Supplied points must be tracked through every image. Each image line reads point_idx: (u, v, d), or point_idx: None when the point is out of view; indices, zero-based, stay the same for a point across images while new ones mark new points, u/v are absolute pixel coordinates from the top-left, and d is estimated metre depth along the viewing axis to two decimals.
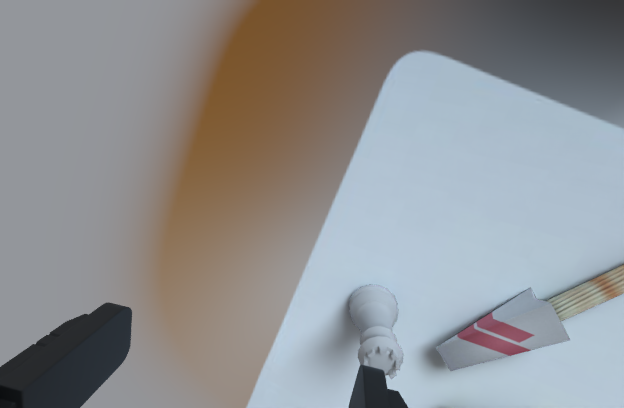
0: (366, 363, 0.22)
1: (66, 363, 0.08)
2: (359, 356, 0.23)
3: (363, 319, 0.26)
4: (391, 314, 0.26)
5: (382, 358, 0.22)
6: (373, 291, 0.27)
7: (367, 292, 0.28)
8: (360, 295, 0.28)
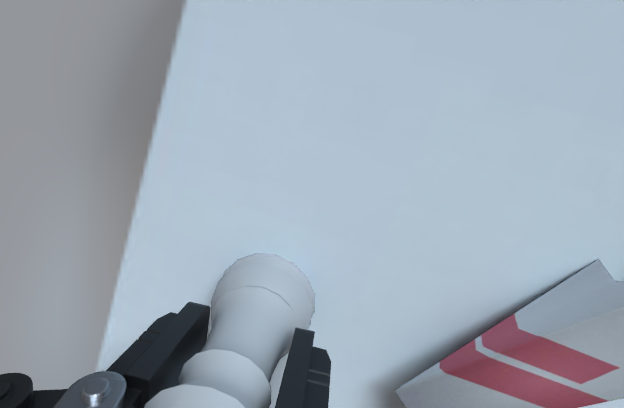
0: None
1: (172, 356, 0.09)
2: None
3: (212, 328, 0.11)
4: (285, 316, 0.12)
5: None
6: (254, 266, 0.13)
7: (242, 268, 0.13)
8: (227, 275, 0.13)
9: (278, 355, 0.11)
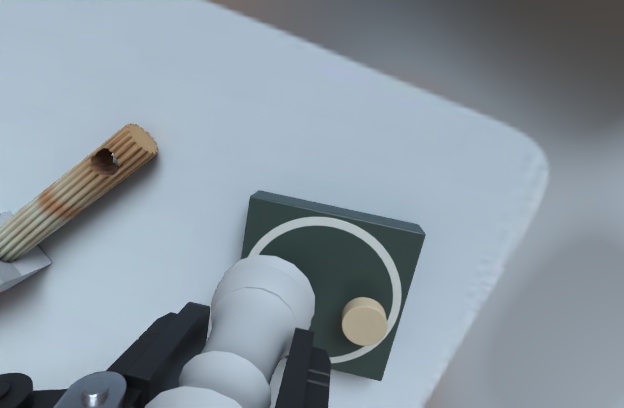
0: None
1: (172, 356, 0.09)
2: None
3: (212, 329, 0.11)
4: (285, 317, 0.12)
5: None
6: (254, 267, 0.13)
7: (242, 270, 0.13)
8: (228, 276, 0.13)
9: (278, 357, 0.11)
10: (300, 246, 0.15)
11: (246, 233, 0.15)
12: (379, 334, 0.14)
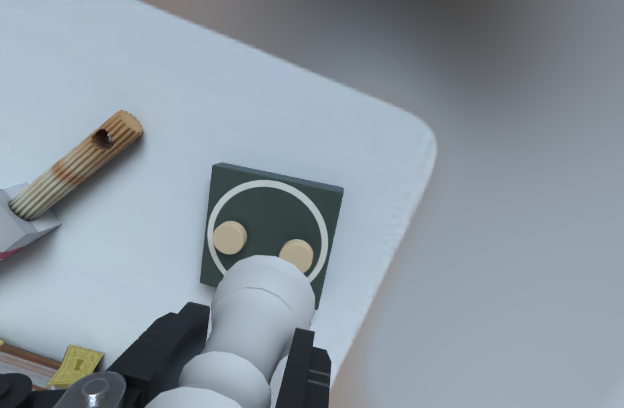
0: None
1: (172, 356, 0.09)
2: None
3: (212, 330, 0.11)
4: (285, 318, 0.12)
5: None
6: (254, 268, 0.13)
7: (242, 270, 0.13)
8: (228, 277, 0.13)
9: (278, 357, 0.11)
10: (251, 203, 0.20)
11: (210, 194, 0.20)
12: (306, 265, 0.18)
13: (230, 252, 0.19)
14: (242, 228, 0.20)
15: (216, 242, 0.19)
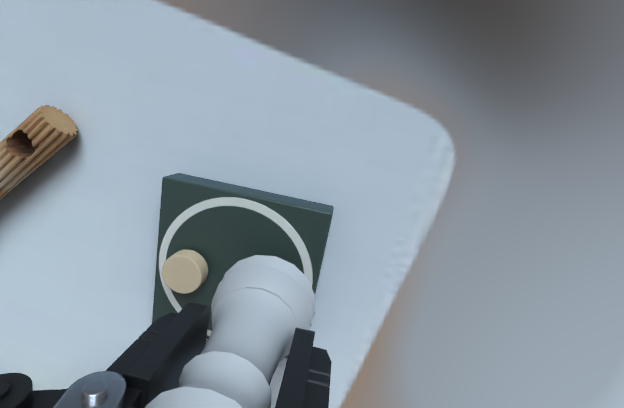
0: None
1: (172, 356, 0.09)
2: None
3: (212, 330, 0.11)
4: (286, 318, 0.12)
5: None
6: (254, 267, 0.13)
7: (242, 270, 0.13)
8: (228, 277, 0.13)
9: (278, 357, 0.11)
10: (212, 226, 0.15)
11: (161, 214, 0.15)
12: None
13: (185, 291, 0.15)
14: (201, 259, 0.15)
15: (166, 278, 0.15)
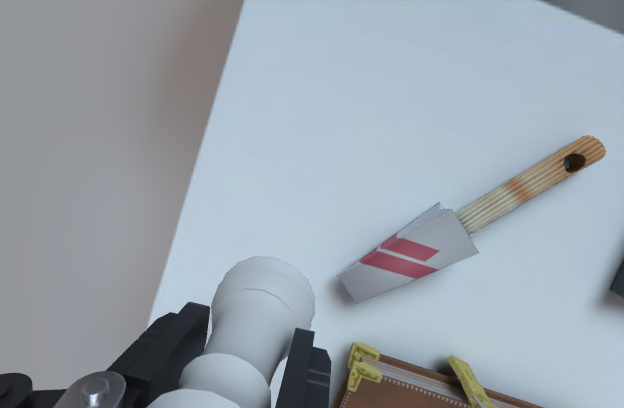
0: None
1: (172, 356, 0.09)
2: None
3: (212, 331, 0.11)
4: (286, 319, 0.12)
5: None
6: (254, 269, 0.13)
7: (242, 271, 0.13)
8: (228, 278, 0.13)
9: (278, 358, 0.11)
10: None
11: None
12: None
13: None
14: None
15: None
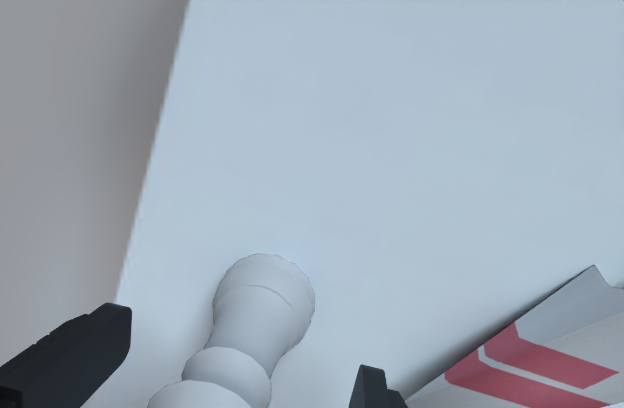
0: None
1: (66, 363, 0.08)
2: None
3: (214, 326, 0.11)
4: (286, 315, 0.12)
5: None
6: (255, 266, 0.13)
7: (243, 268, 0.13)
8: (229, 275, 0.13)
9: (278, 353, 0.11)
10: None
11: None
12: None
13: None
14: None
15: None
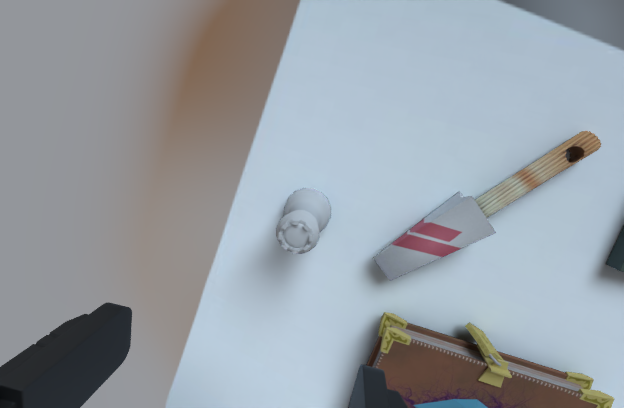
0: (280, 235, 0.22)
1: (66, 363, 0.08)
2: (277, 233, 0.23)
3: (291, 211, 0.26)
4: (320, 210, 0.27)
5: (297, 231, 0.22)
6: (305, 191, 0.28)
7: (299, 192, 0.28)
8: (292, 195, 0.28)
9: (318, 221, 0.26)
10: None
11: None
12: None
13: None
14: None
15: None
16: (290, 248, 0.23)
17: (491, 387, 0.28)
